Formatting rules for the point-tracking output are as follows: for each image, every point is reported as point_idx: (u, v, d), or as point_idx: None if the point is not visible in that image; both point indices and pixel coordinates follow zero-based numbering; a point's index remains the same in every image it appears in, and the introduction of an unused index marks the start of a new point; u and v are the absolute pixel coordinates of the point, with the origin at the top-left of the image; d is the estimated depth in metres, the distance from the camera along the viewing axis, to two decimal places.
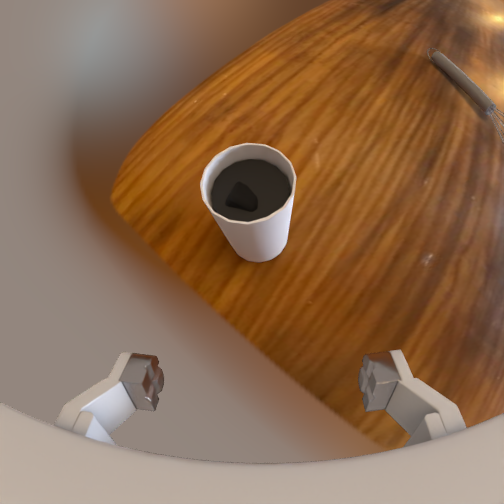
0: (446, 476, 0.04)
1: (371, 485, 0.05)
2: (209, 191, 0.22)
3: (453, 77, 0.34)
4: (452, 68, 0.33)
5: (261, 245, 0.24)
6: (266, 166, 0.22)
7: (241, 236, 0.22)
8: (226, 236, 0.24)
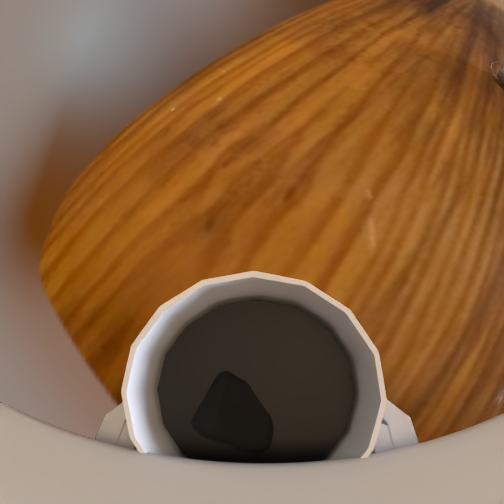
0: (446, 476, 0.04)
1: (371, 485, 0.05)
2: (154, 380, 0.08)
3: None
4: None
5: None
6: (301, 328, 0.08)
7: None
8: None
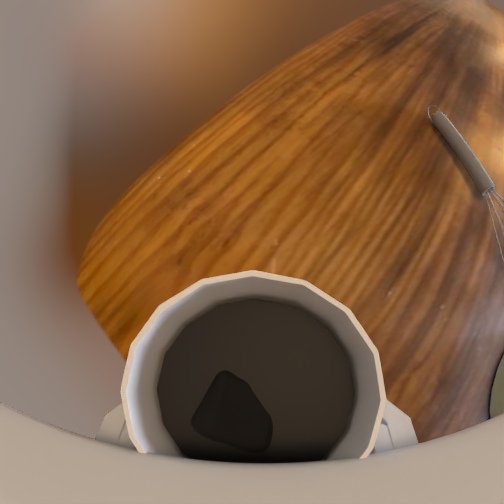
0: (446, 476, 0.04)
1: (371, 485, 0.05)
2: (153, 380, 0.08)
3: (452, 146, 0.34)
4: (453, 135, 0.33)
5: None
6: (301, 327, 0.08)
7: None
8: None
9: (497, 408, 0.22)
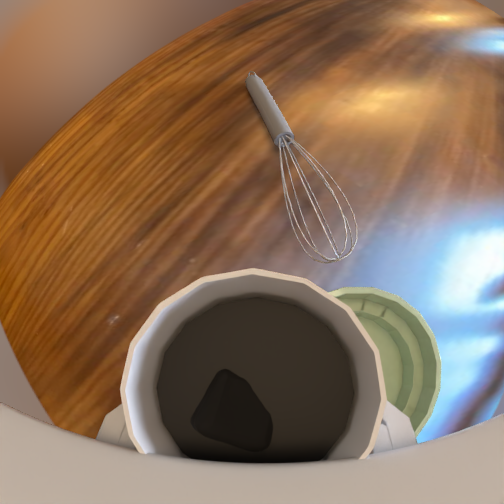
0: (446, 476, 0.04)
1: (371, 485, 0.05)
2: (153, 378, 0.08)
3: (255, 104, 0.39)
4: (255, 94, 0.38)
5: None
6: (301, 326, 0.08)
7: None
8: None
9: None
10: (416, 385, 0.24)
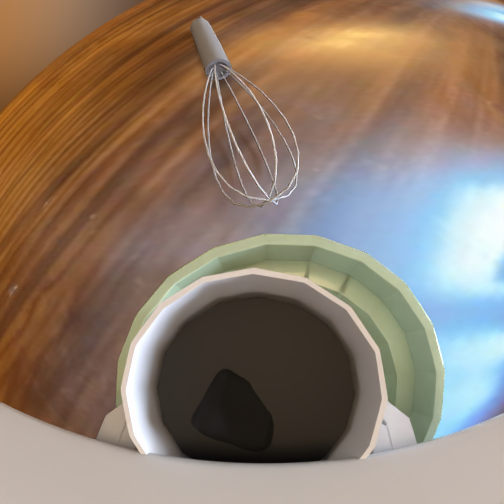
0: (446, 476, 0.04)
1: (371, 485, 0.05)
2: (153, 378, 0.08)
3: (196, 44, 0.29)
4: (196, 32, 0.28)
5: None
6: (302, 325, 0.08)
7: None
8: None
9: None
10: (401, 409, 0.14)
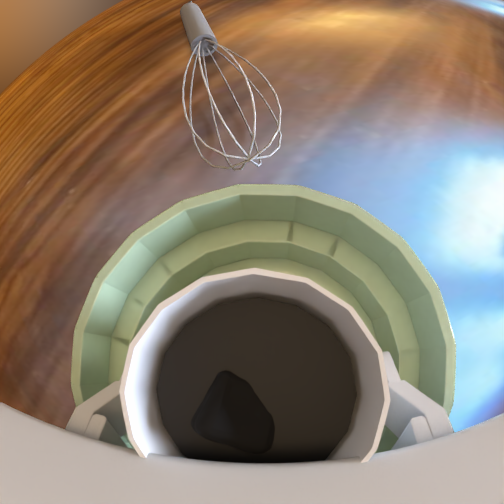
0: (446, 476, 0.04)
1: (371, 485, 0.05)
2: (153, 380, 0.08)
3: None
4: (184, 15, 0.26)
5: None
6: (303, 326, 0.08)
7: None
8: None
9: None
10: None
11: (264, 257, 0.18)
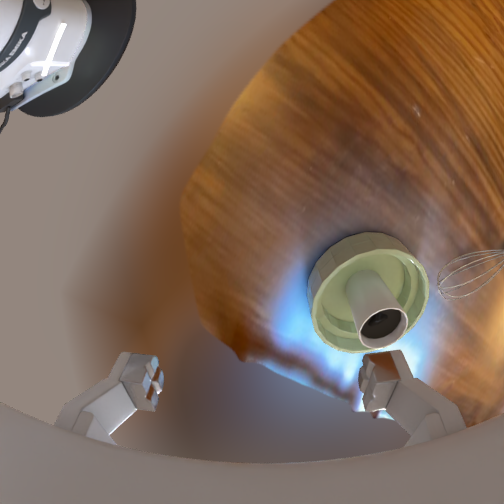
0: (446, 476, 0.04)
1: (371, 485, 0.05)
2: None
3: None
4: None
5: (352, 310, 0.38)
6: (392, 328, 0.35)
7: (357, 312, 0.35)
8: (362, 292, 0.37)
9: (371, 237, 0.37)
10: (352, 335, 0.43)
11: (403, 285, 0.41)
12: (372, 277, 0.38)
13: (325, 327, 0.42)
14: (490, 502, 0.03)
